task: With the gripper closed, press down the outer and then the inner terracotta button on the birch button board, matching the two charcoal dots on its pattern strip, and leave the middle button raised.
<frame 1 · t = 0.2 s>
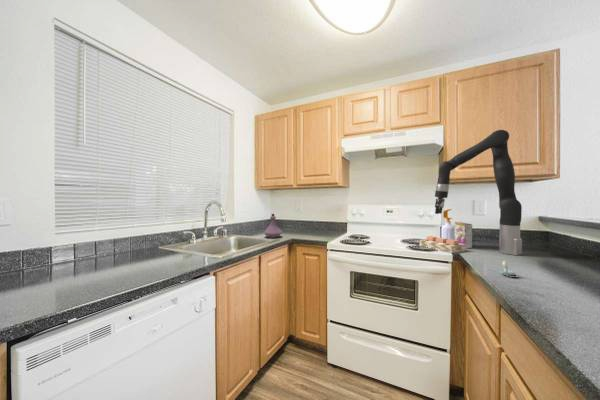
hand: (438, 213, 158), 23 cm above the worktop, tool pointing down, fingers open, 8 cm apart
soap bottle: (448, 240, 178), on the worktop
candy bar box: (462, 246, 155), on the worktop
button middle: (441, 240, 151), point 5 cm above the worktop, slide at 0.0 cm
button outer: (431, 238, 157), point 5 cm above the worktop, slide at 0.0 cm
button board: (441, 248, 151), on the worktop
button inner: (452, 242, 144), point 5 cm above the worktop, slide at 0.0 cm
pacifier: (508, 276, 98), on the worktop
flask: (273, 237, 194), on the worktop
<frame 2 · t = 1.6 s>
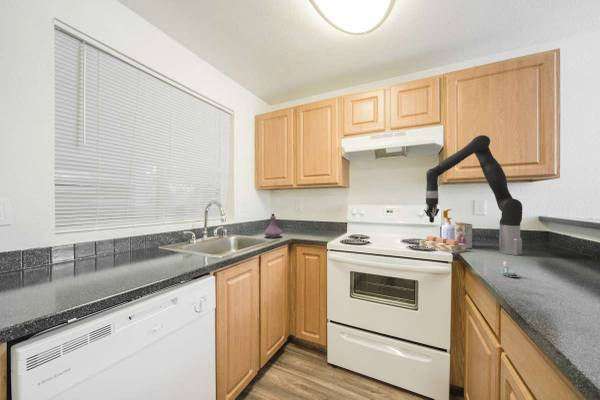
hand: (431, 222, 157), 17 cm above the worktop, tool pointing down, fingers closed
nothing on the worktop moved.
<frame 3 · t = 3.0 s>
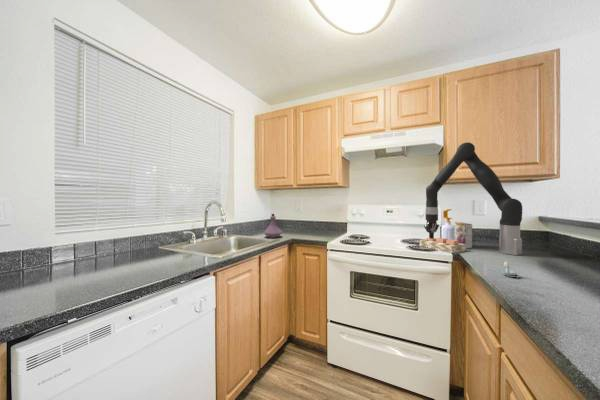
hand: (431, 238, 157), 5 cm above the worktop, tool pointing down, fingers closed
button outer: (431, 240, 157), point 4 cm above the worktop, slide at 1.1 cm, touching gripper
everything else where it was.
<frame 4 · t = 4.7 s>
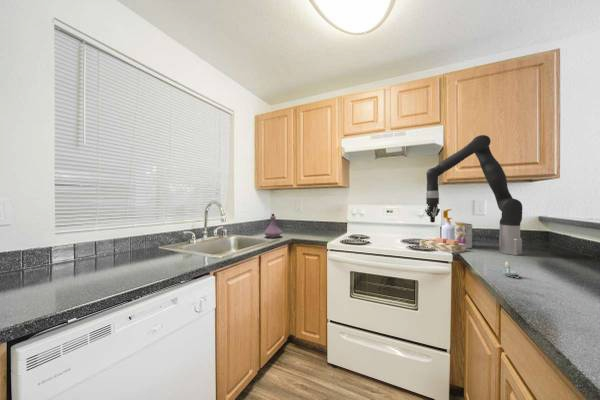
hand: (432, 222, 156), 17 cm above the worktop, tool pointing down, fingers closed
button outer: (431, 241, 157), point 3 cm above the worktop, slide at 2.1 cm
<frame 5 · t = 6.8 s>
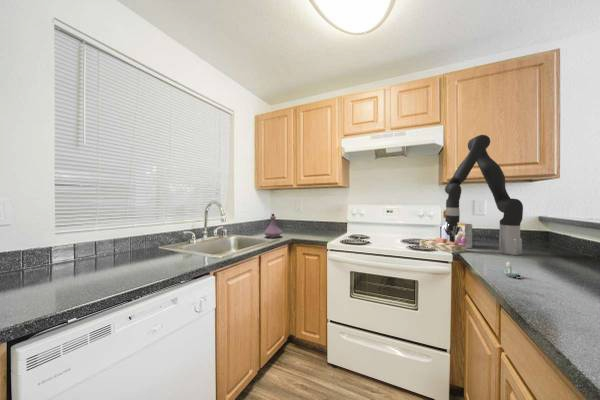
hand: (452, 241, 144), 6 cm above the worktop, tool pointing down, fingers closed
button inner: (452, 244, 144), point 4 cm above the worktop, slide at 0.9 cm, touching gripper
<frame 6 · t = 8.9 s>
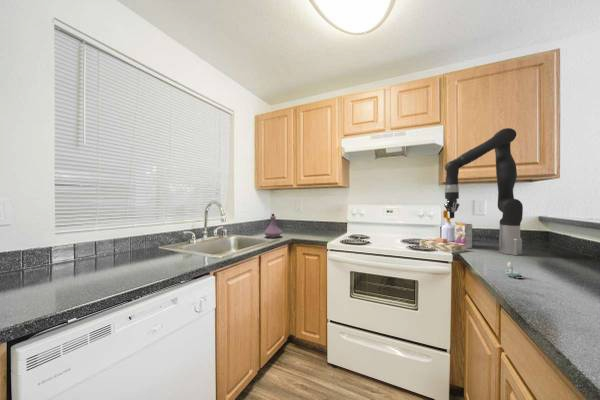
hand: (452, 217, 149), 20 cm above the worktop, tool pointing down, fingers closed
button inner: (452, 245, 144), point 3 cm above the worktop, slide at 2.1 cm
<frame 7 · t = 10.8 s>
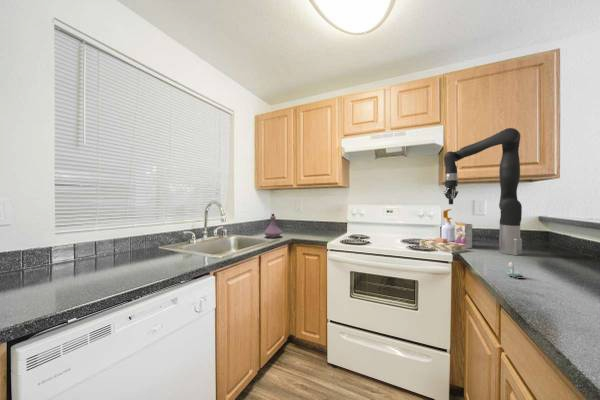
hand: (450, 204, 160), 29 cm above the worktop, tool pointing down, fingers closed
at the end: button outer slide at 2.1 cm; button inner slide at 2.1 cm; button middle slide at 0.0 cm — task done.
